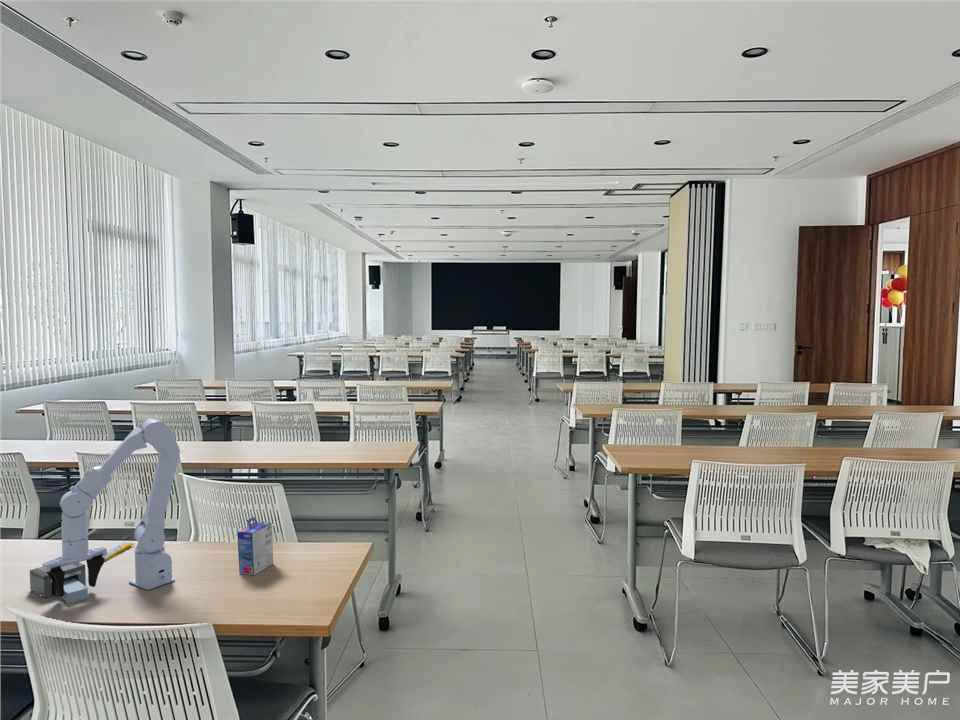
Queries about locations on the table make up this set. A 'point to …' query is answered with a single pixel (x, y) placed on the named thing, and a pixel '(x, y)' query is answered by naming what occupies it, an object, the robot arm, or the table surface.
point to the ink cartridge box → (255, 547)
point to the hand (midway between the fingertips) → (76, 590)
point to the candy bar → (117, 550)
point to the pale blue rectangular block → (73, 590)
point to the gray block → (43, 583)
